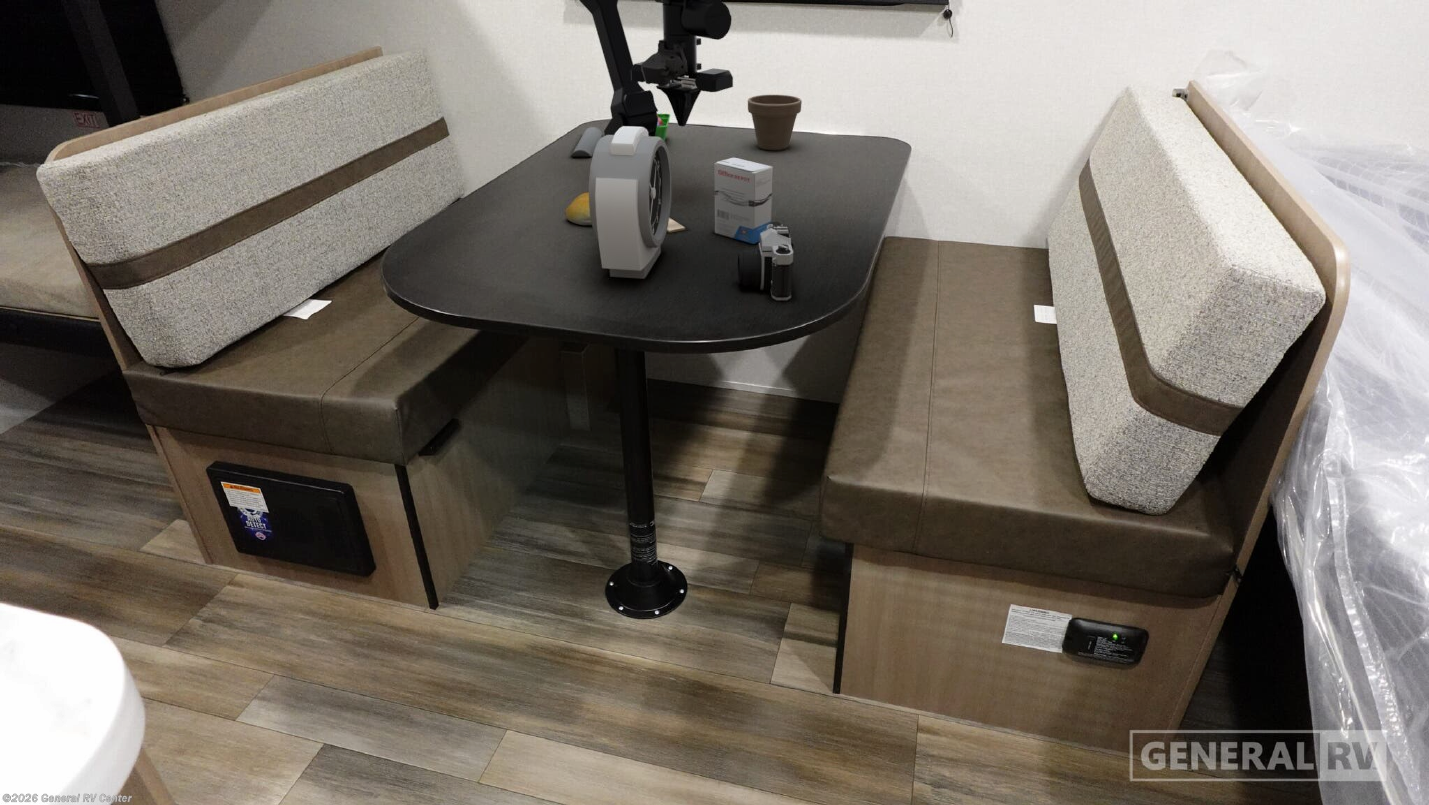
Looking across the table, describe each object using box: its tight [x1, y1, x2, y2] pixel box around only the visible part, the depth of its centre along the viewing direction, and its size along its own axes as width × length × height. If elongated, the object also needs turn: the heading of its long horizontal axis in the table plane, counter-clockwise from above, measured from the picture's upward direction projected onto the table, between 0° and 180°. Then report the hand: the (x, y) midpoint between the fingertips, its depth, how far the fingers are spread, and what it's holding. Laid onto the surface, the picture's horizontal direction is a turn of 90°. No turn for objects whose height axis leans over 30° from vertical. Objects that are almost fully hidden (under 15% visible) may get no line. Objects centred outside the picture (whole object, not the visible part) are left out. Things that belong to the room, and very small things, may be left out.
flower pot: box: [747, 94, 803, 151], centre depth 189 cm, size 12×11×10 cm
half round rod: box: [571, 126, 603, 158], centre depth 192 cm, size 4×20×2 cm, turn 179°
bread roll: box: [565, 191, 592, 226], centre depth 151 cm, size 8×9×4 cm
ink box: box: [713, 156, 774, 245], centre depth 142 cm, size 8×5×12 cm, turn 48°
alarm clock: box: [588, 126, 673, 280], centre depth 129 cm, size 18×8×20 cm, turn 170°
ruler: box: [666, 217, 686, 234], centre depth 152 cm, size 16×3×1 cm, turn 29°
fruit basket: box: [655, 113, 671, 142], centre depth 192 cm, size 11×9×11 cm
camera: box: [737, 221, 795, 301], centre depth 125 cm, size 13×8×9 cm, turn 5°
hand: (682, 125), depth 159 cm, fingers closed
